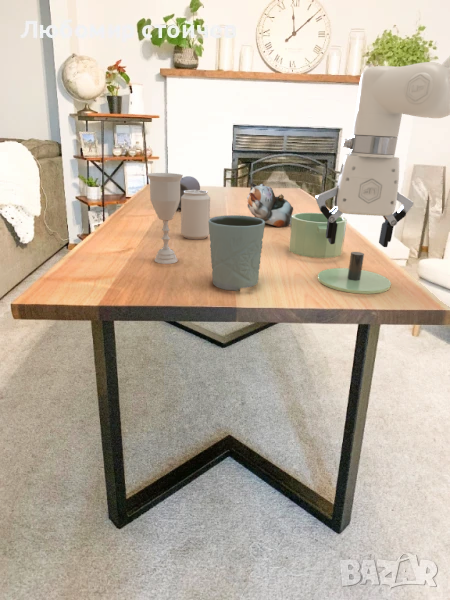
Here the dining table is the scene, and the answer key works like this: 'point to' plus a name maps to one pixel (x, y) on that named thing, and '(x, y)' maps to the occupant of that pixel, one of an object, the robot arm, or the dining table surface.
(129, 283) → the dining table surface
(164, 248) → the chalice
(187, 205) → the can
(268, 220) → the lucky cat figurine
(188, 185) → the bluetooth speaker
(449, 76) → the robot arm
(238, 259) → the green ceramic cup
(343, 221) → the pot
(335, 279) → the lid
